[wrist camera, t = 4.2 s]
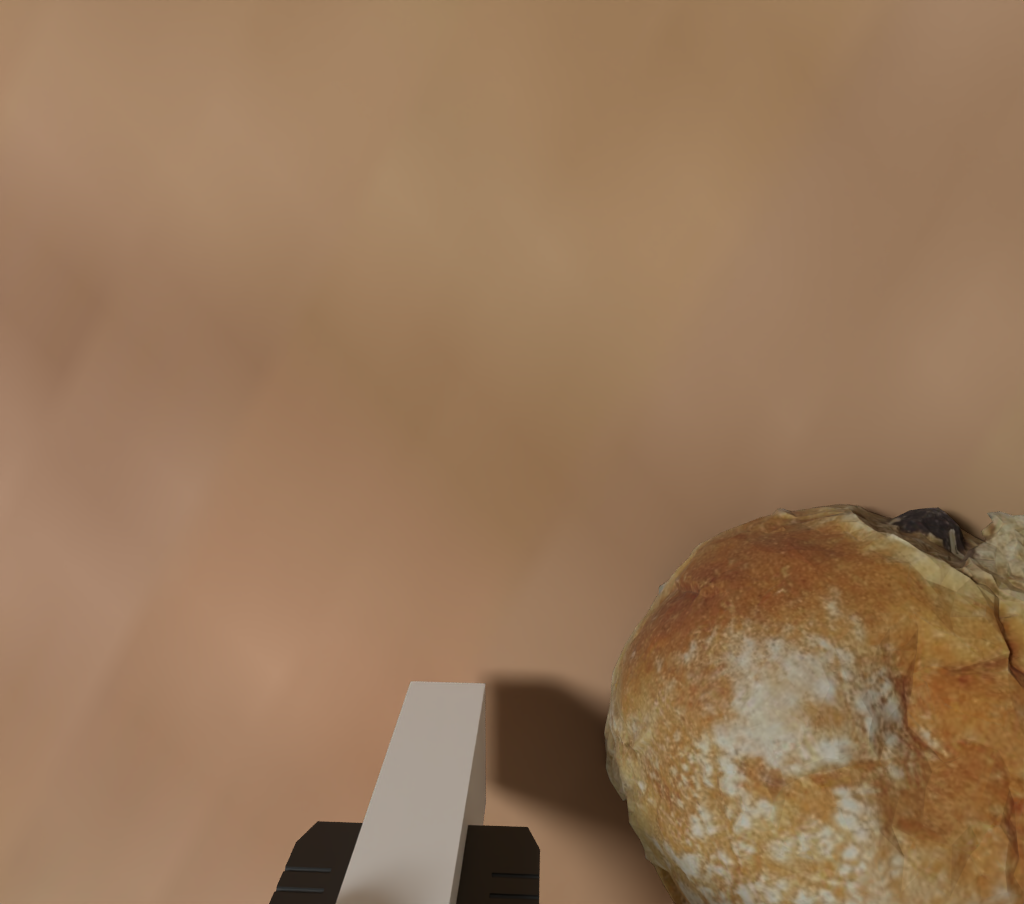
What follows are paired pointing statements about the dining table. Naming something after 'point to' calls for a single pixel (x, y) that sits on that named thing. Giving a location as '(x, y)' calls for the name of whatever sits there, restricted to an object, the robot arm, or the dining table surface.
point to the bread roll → (830, 713)
